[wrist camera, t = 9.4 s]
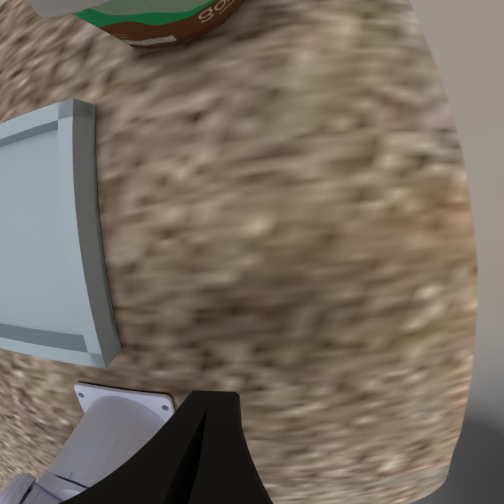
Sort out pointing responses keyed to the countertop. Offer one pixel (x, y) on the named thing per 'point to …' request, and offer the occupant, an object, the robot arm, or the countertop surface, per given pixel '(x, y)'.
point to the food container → (145, 18)
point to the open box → (53, 239)
